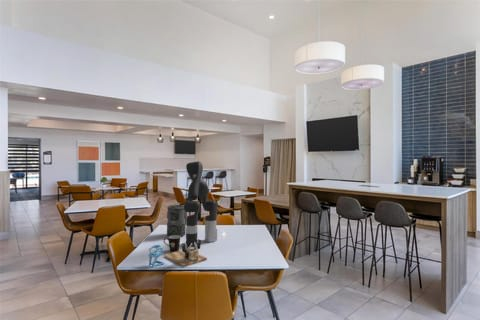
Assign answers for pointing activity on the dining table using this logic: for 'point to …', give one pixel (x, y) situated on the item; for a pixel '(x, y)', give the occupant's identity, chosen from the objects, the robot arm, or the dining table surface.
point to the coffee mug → (173, 243)
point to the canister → (176, 220)
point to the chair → (155, 255)
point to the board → (179, 258)
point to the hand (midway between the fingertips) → (191, 257)
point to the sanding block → (192, 255)
